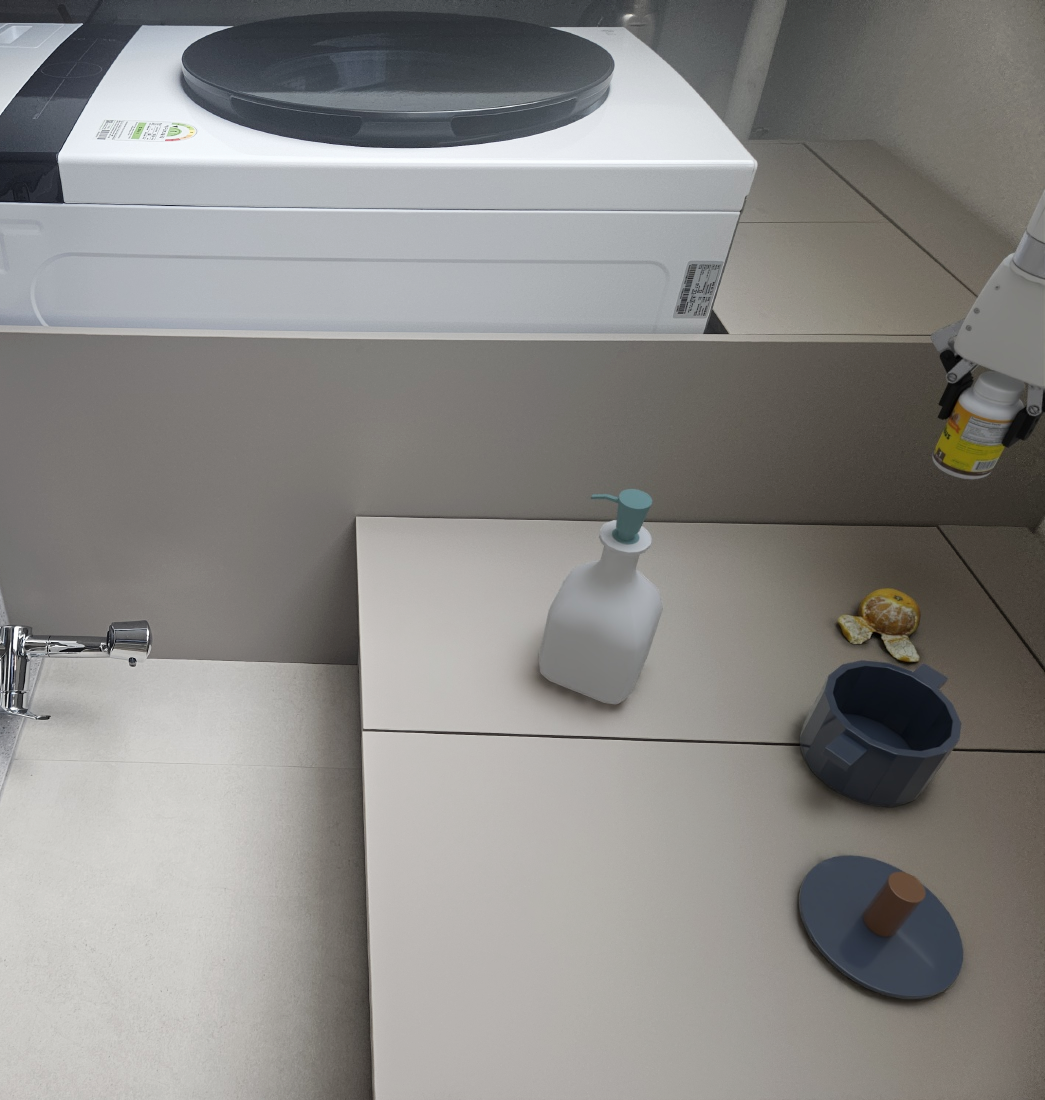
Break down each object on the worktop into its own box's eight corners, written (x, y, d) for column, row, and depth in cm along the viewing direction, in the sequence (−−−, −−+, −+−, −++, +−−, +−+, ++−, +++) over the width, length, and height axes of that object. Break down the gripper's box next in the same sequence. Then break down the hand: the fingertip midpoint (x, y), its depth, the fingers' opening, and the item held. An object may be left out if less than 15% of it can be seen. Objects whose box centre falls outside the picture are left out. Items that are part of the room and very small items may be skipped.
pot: (963, 752, 91) (999, 701, 86) (868, 844, 84) (902, 794, 79) (855, 681, 98) (883, 631, 93) (759, 761, 90) (783, 711, 85)
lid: (986, 942, 77) (1025, 901, 73) (907, 1035, 72) (944, 996, 67) (847, 837, 84) (875, 794, 80) (766, 914, 79) (791, 872, 75)
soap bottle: (561, 623, 104) (600, 453, 89) (649, 656, 101) (704, 485, 86) (529, 681, 98) (565, 509, 83) (621, 718, 94) (675, 545, 79)
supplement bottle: (937, 445, 103) (977, 360, 96) (995, 463, 100) (1041, 377, 93) (923, 469, 99) (963, 383, 93) (983, 488, 97) (1029, 402, 90)
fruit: (831, 634, 103) (843, 610, 100) (851, 591, 108) (863, 567, 105) (915, 668, 99) (930, 644, 96) (932, 622, 104) (946, 597, 101)
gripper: (1195, 277, 81) (1088, 453, 93) (987, 218, 92) (915, 382, 104) (1157, 303, 78) (1052, 481, 90) (946, 238, 89) (877, 405, 100)
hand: (979, 426), depth 96 cm, fingers closed on supplement bottle, 5 cm apart
